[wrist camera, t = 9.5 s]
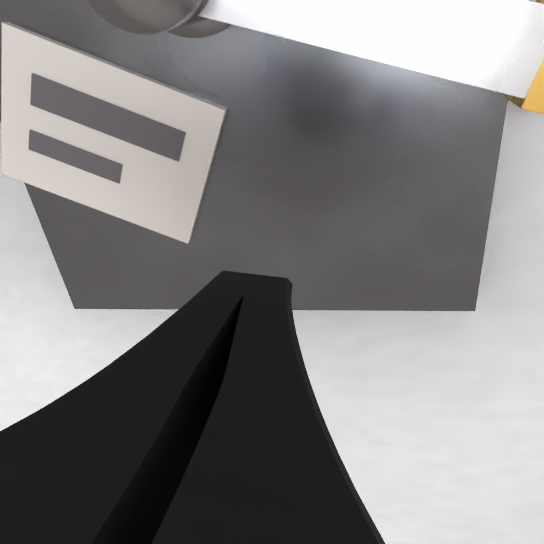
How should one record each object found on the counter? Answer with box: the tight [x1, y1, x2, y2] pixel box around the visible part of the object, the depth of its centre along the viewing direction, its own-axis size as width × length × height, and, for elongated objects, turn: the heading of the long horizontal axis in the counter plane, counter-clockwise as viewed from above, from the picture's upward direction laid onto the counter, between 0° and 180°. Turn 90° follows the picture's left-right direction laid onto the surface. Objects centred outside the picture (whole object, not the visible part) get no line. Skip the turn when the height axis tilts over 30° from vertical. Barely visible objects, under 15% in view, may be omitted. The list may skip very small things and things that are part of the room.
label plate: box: [1, 22, 227, 244], centre depth 15 cm, size 7×5×1 cm
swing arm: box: [87, 0, 544, 114], centre depth 11 cm, size 12×3×3 cm, turn 78°
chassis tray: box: [0, 0, 508, 311], centre depth 15 cm, size 16×13×1 cm
